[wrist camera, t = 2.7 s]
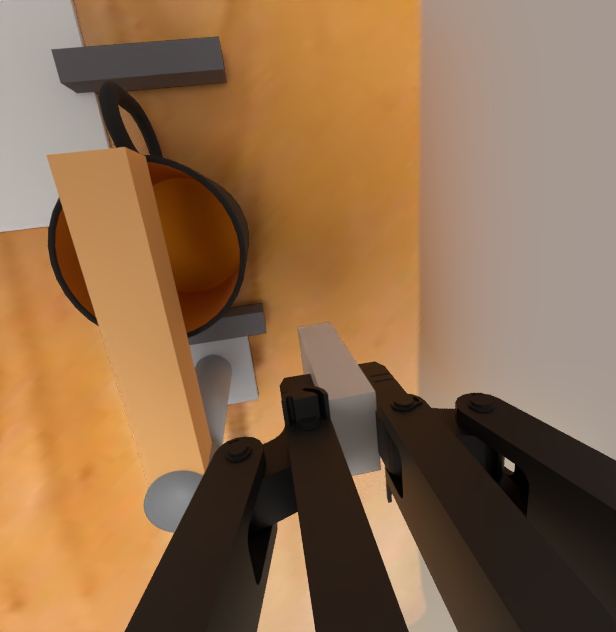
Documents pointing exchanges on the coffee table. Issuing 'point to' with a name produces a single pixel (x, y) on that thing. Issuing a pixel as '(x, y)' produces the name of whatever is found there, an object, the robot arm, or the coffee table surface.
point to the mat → (39, 109)
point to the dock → (161, 72)
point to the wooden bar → (138, 319)
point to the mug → (169, 228)
